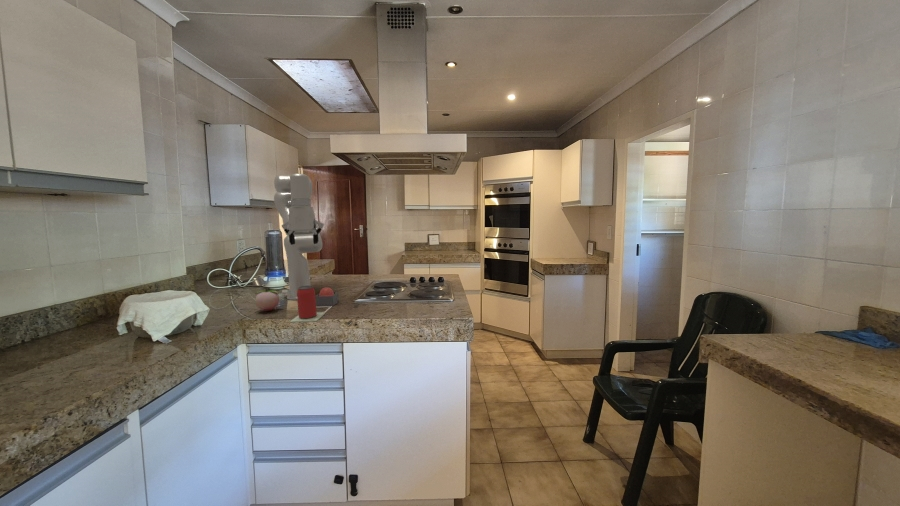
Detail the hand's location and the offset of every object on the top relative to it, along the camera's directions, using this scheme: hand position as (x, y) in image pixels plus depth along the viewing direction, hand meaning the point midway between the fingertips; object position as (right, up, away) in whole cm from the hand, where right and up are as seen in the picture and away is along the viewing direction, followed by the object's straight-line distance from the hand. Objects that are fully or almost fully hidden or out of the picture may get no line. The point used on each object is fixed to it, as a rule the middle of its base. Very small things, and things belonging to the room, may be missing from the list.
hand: (304, 243), depth 143 cm
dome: (+6, -26, +9) cm, 28 cm away
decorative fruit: (-15, -29, -1) cm, 33 cm away
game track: (+6, -29, -2) cm, 29 cm away
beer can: (+6, -29, -11) cm, 32 cm away
